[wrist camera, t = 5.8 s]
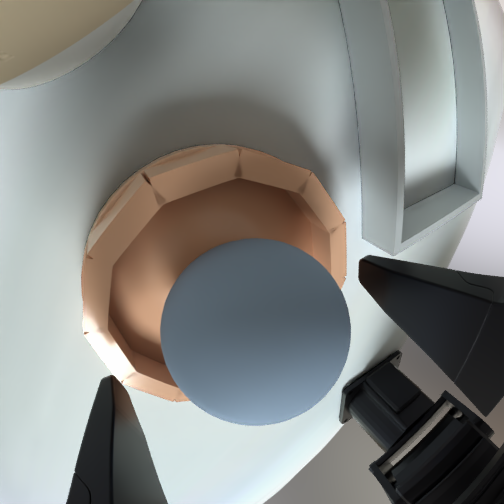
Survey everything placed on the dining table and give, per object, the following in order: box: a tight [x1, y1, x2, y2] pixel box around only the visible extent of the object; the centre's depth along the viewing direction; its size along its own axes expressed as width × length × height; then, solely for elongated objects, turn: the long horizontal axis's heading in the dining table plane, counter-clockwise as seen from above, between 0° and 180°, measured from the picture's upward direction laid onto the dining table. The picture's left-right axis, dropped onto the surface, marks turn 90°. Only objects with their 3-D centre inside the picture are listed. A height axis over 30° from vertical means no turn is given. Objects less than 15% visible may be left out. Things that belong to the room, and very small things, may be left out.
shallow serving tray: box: [339, 0, 487, 256], centre depth 12 cm, size 15×10×2 cm
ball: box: [160, 238, 351, 426], centre depth 9 cm, size 6×6×6 cm
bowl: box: [81, 144, 346, 402], centre depth 11 cm, size 10×10×2 cm
